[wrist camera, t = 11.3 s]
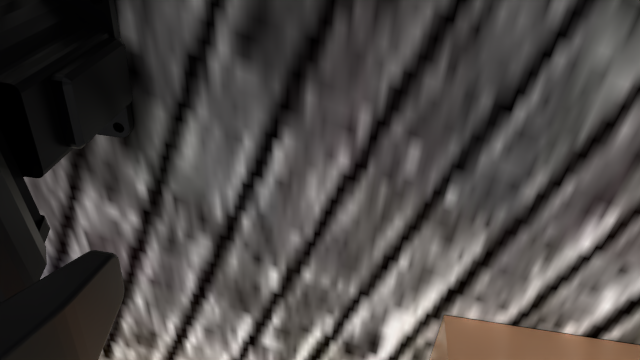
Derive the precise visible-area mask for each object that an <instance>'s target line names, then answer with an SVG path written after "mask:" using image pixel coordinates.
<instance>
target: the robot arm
mask: <svg viewBox="0 0 640 360" xmlns="http://www.w3.org/2000/svg"><path fill="white" fill-rule="evenodd" d="M132 100H133V97H132V90H131V84H130V77H129V71H128V64H127V57H126V51H125V45H124V44H123V42H122V41H121V40H120V34H119V28H118V21H117V15H116V8H115V2H114V0H103V2H102V3H101V2H99V1H98V0H0V360H98V359H99V356H100V354H101V351H102V349H103V347H104V344H105V342H106V339H107V337H108V334H109V332H110V330H111V327H112V325H113V322H114V320H115V317H116V315H117V313H118V310H119V308H120V305H121V303H122V300H123V296H124V283H123V278H122V273H121V268H120V263H119V259H118V257H117V256H116V255H115V254H113V253H109V252H103V251H97V250H93V251H89V252H87V253H85V254H83V255H82V256H80V257H78V258H77V259H75V260H73V261H71V262H70V263H68V264H66V265H65V266H63V267H61V268H59V269H58V270H56V271H54V272H53V273H51V274H49V275H47V276H46V277H44V278H42V279H41V280H40V278H41V276H42V273H43V271H44V269H45V267H46V265H47V263H46V246H45V241H46V238H47V236H48V233H49V230H50V227H49V225H48V223H47V220H46V218H45V216H44V215H40V213H39V211H38V208H37V206H36V204H35V202H34V200H33V198H32V196H31V193H30V191H29V189H28V187H27V185H26V183H25V181H24V178H23V177H32V178H41V177H42V176H44V175H45V174H46V173H47V172H48V171H49V170H50V169H51V168H52V167H53V166H54V165H55V164H57V163H58V162H59V161H60V160H61V159H62V158H63V157H64V156H65V155H66V154H67V153H69V152H70V151H71V150H72V149H73V148H77V149H81V148H83V147H84V146H85V145H86V144H87V143H88V142H89V141H90V140H91V139H92V138H93V137H94V136H95V135H96V134H98V135H106V136H113V137H126V136H128V135H129V134H130V132H131V131H132V130H133V118H132V112H131V105H130V102H131V101H132ZM117 122H118V123H121V124H122V125H123V127H124V129H123V128H121V127H120V126H119V125H118V123H117Z"/></svg>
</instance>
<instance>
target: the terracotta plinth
mask: <svg viewBox="0 0 640 360" xmlns="http://www.w3.org/2000/svg"><path fill="white" fill-rule="evenodd" d="M430 360H640V345H634V344H628V343H621V342H615V341H608V340H602V339H595V338H589V337H582V336H576V335H569V334H563V333H556V332H550V331H543V330H537V329H530V328H524V327H517V326H511V325H504V324H498V323H491V322H485V321H478V320H472V319H465V318H459V317H452V316H446V315H444V317H443V320H442V323H441V326H440V329H439V332H438V335H437V339H436V342H435V345H434V348H433V351H432V354H431V357H430Z"/></svg>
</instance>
